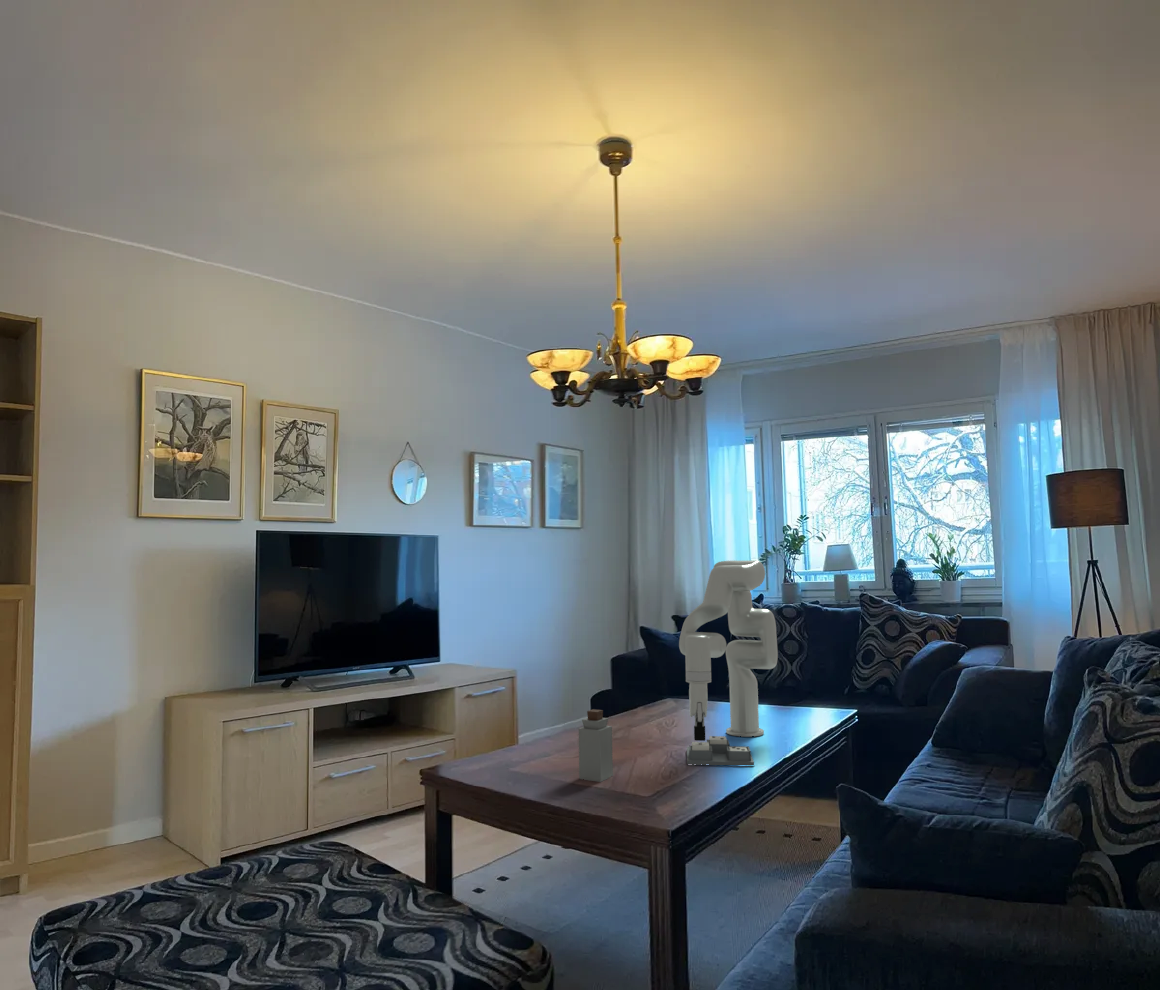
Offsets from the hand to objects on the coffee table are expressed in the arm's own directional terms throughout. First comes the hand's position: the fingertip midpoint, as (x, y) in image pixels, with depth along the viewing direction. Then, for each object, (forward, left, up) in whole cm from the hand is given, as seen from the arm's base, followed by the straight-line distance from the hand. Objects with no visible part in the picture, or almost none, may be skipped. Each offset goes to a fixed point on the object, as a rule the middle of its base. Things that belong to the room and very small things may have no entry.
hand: (699, 739), depth 233 cm
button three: (0, +11, -5) cm, 12 cm away
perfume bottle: (+20, -29, -7) cm, 36 cm away
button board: (-4, +6, -6) cm, 10 cm away
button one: (0, 0, -3) cm, 3 cm away
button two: (-9, +6, -3) cm, 11 cm away
